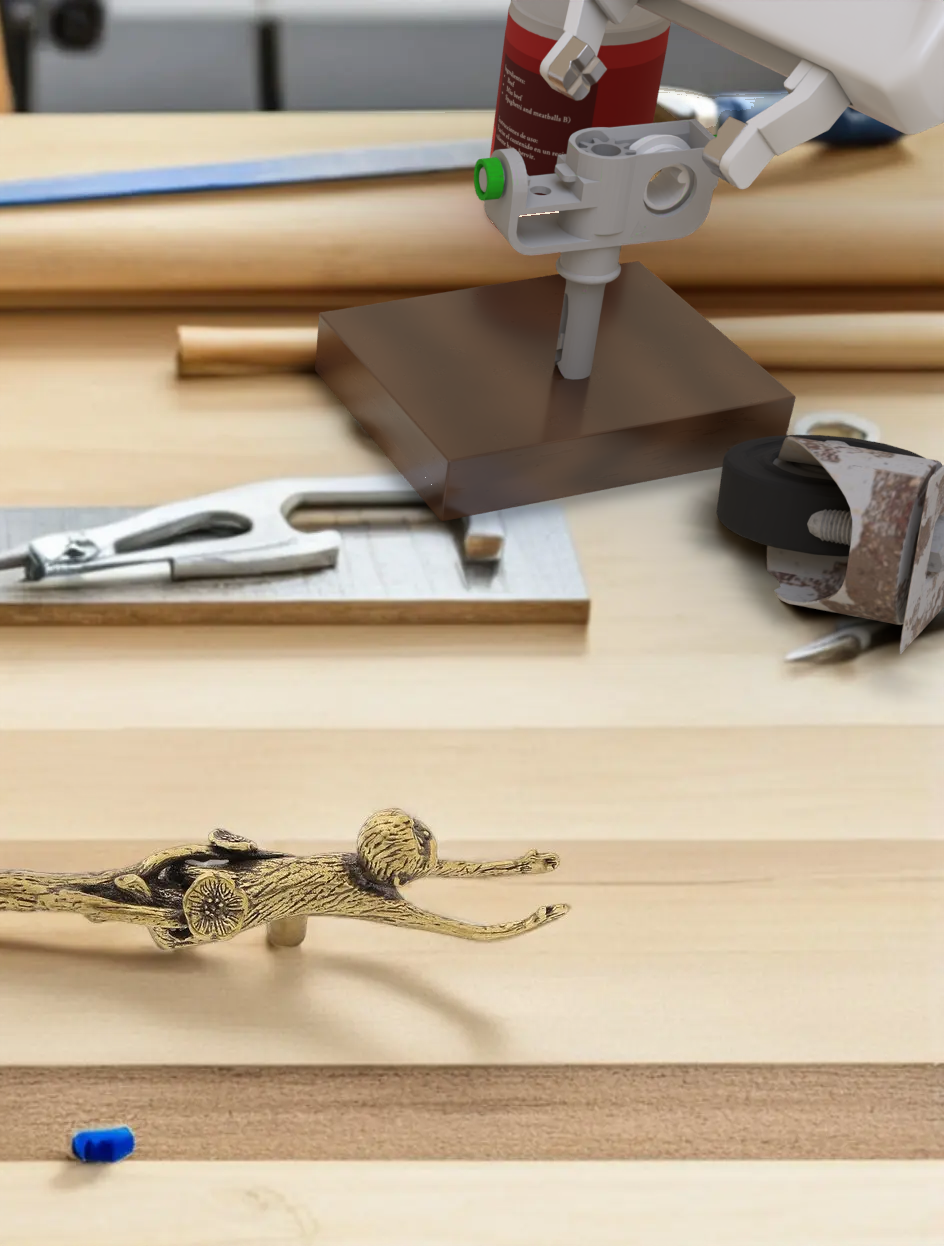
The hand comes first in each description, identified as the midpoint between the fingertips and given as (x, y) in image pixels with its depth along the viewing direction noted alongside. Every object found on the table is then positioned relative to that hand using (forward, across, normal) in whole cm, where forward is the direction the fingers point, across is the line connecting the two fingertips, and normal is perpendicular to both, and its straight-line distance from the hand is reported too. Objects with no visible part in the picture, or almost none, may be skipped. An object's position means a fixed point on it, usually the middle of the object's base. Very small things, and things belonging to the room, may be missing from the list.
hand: (635, 129), depth 81 cm
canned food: (+1, -17, +19) cm, 25 cm away
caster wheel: (+9, +12, +11) cm, 19 cm away
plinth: (+10, -2, +9) cm, 14 cm away
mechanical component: (+8, -1, +7) cm, 11 cm away
